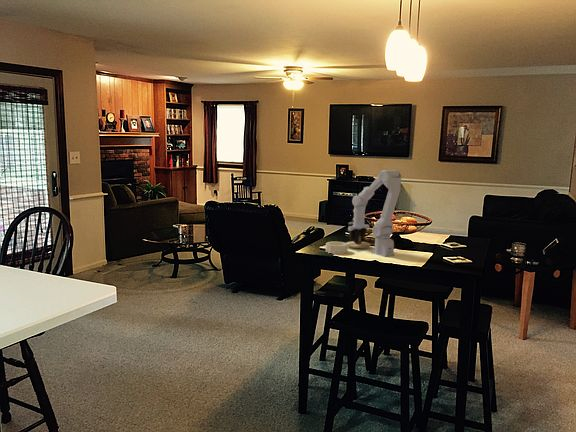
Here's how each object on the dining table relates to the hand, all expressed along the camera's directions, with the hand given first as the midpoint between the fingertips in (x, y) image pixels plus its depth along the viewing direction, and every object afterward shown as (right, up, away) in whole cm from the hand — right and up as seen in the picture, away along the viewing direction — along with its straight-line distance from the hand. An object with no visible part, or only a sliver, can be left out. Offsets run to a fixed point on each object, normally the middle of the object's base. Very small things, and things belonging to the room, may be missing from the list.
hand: (358, 242), depth 269 cm
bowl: (-13, -5, -11) cm, 17 cm away
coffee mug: (+2, 0, +24) cm, 24 cm away
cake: (+5, +3, +42) cm, 43 cm away
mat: (0, -3, +1) cm, 3 cm away
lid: (0, -2, 0) cm, 2 cm away
